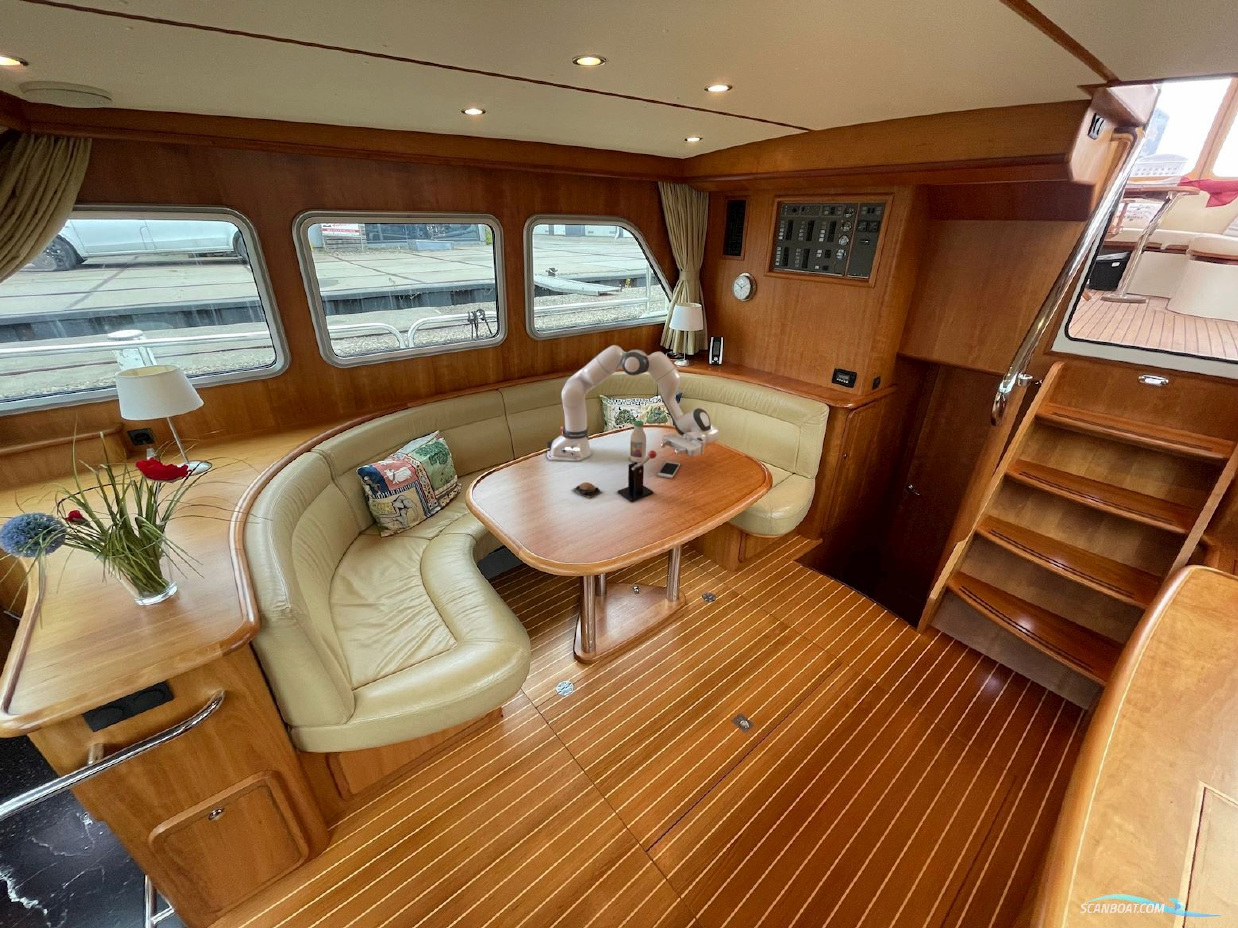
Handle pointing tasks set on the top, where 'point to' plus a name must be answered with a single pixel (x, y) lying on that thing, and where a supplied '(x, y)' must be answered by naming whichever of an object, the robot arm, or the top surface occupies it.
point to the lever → (646, 459)
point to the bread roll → (587, 490)
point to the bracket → (635, 484)
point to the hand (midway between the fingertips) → (668, 449)
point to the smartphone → (668, 469)
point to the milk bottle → (638, 443)
